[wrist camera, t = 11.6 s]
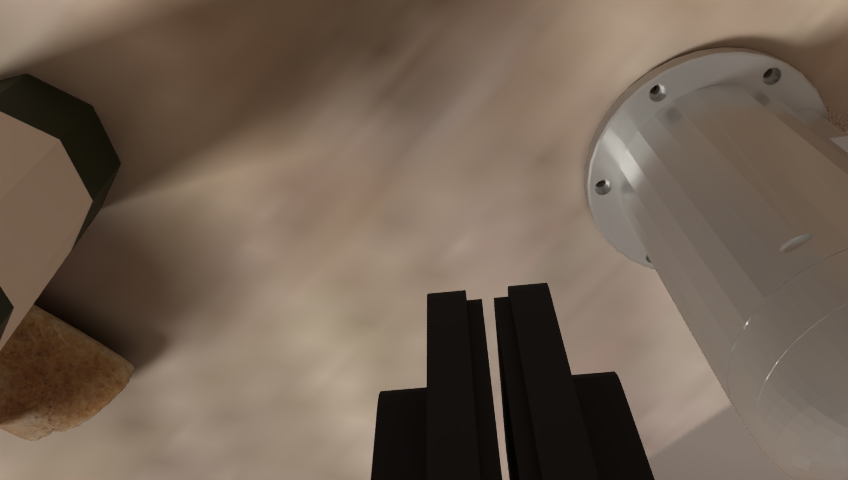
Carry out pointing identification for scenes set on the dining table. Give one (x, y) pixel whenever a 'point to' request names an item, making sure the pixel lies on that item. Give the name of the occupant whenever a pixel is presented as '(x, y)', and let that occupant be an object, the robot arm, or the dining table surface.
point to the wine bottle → (45, 187)
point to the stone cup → (55, 376)
